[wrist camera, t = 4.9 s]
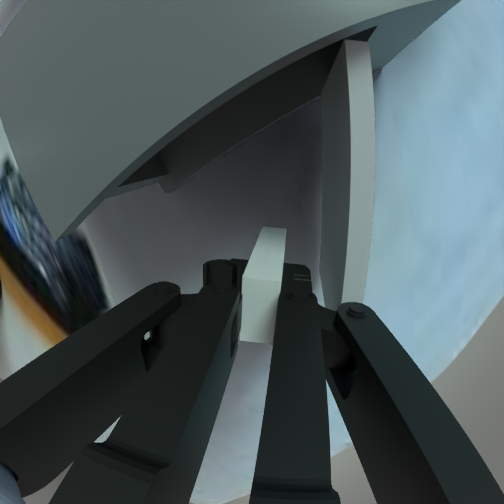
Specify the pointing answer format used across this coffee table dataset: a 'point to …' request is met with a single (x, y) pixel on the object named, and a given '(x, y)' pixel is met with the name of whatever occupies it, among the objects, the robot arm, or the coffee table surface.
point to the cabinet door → (347, 175)
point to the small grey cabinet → (168, 84)
